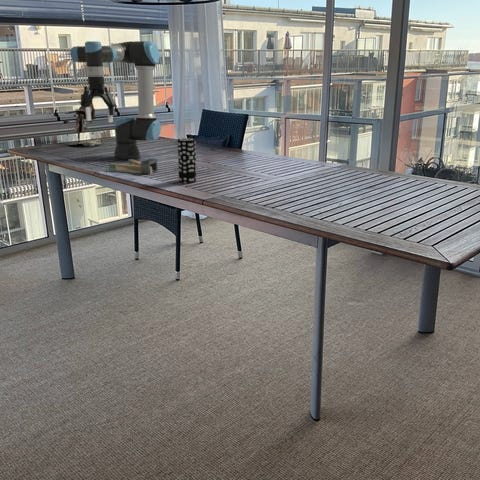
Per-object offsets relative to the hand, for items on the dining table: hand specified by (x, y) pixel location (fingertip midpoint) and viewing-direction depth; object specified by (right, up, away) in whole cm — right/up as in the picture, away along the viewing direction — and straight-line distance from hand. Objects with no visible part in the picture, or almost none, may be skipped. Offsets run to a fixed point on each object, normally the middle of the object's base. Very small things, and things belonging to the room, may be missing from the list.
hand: (99, 121), depth 253 cm
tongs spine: (+12, -22, +16) cm, 30 cm away
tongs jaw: (+14, -20, +22) cm, 33 cm away
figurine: (-37, +7, +99) cm, 106 cm away
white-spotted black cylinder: (+44, -30, -5) cm, 53 cm away
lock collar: (+22, -23, +14) cm, 35 cm away
